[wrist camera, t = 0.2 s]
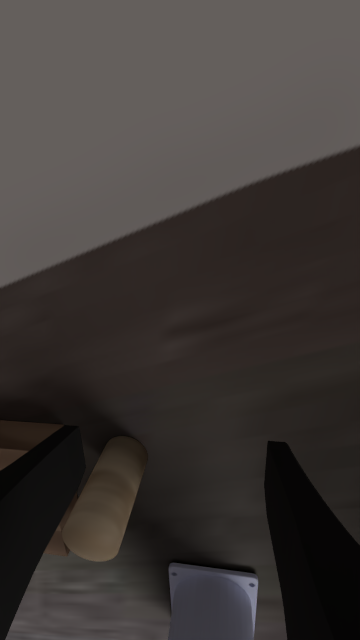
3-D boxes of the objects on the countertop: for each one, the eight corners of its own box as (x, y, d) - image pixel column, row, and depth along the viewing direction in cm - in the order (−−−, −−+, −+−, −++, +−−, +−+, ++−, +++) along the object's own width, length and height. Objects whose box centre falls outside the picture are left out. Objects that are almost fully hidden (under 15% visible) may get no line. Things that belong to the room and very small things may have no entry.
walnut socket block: (82, 522, 29) (67, 556, 26) (-23, 509, 30) (-49, 540, 27) (63, 424, 25) (42, 452, 22) (-57, 416, 26) (-90, 440, 24)
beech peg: (149, 473, 25) (122, 565, 19) (107, 469, 26) (67, 557, 19) (146, 437, 24) (116, 522, 18) (102, 434, 25) (57, 516, 18)
